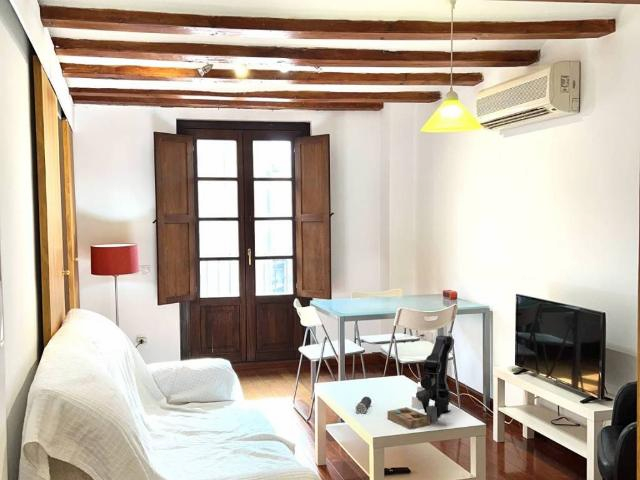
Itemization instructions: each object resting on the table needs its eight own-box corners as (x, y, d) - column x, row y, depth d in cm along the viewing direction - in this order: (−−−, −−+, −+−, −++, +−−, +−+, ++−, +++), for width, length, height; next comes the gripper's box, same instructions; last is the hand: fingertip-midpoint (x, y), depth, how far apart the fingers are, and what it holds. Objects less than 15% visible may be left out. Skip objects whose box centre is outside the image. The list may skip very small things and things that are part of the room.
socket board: (406, 414, 331) (406, 406, 331) (429, 424, 315) (429, 415, 315) (387, 419, 325) (387, 409, 324) (410, 429, 309) (410, 419, 309)
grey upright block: (432, 419, 324) (432, 405, 324) (438, 421, 321) (438, 407, 320) (426, 420, 322) (426, 406, 322) (431, 422, 319) (431, 408, 318)
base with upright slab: (428, 409, 339) (428, 387, 339) (411, 408, 341) (411, 386, 340) (429, 404, 348) (429, 382, 347) (412, 403, 350) (412, 381, 349)
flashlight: (362, 405, 349) (362, 395, 349) (372, 405, 347) (372, 395, 347) (355, 413, 334) (355, 403, 334) (365, 414, 333) (365, 404, 332)
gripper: (407, 382, 324) (407, 413, 325) (432, 391, 308) (432, 423, 309) (424, 379, 330) (424, 409, 331) (449, 387, 314) (449, 419, 315)
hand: (432, 415), depth 321 cm, fingers open, 9 cm apart
